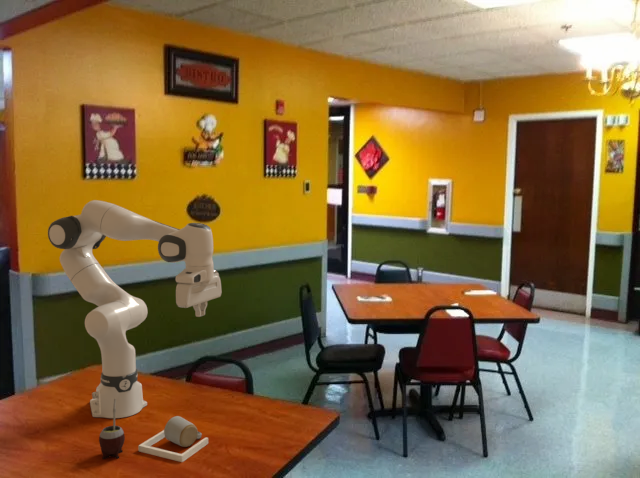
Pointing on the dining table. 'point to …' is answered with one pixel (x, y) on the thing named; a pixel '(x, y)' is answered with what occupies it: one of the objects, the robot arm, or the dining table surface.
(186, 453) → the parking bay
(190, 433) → the ceramic mug
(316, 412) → the dining table surface
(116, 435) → the mate gourd
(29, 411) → the dining table surface
